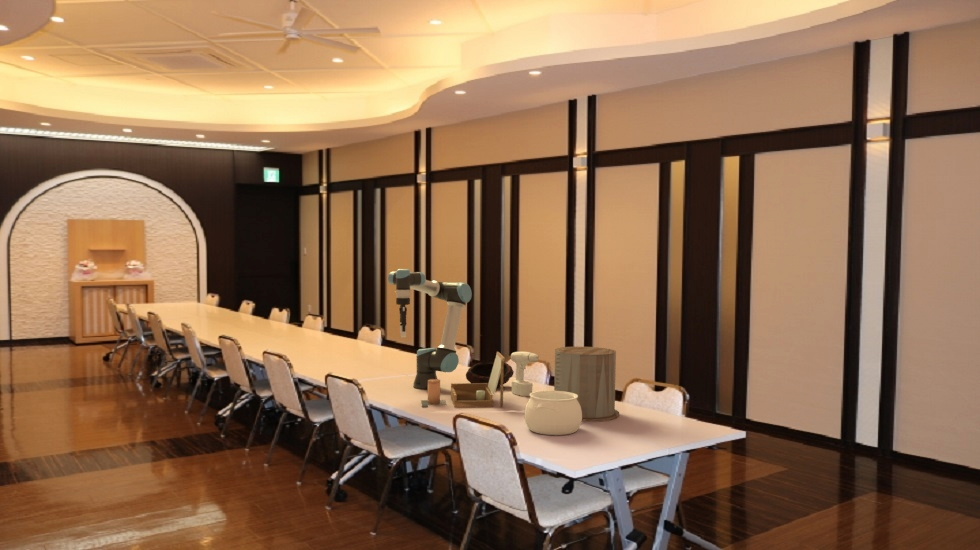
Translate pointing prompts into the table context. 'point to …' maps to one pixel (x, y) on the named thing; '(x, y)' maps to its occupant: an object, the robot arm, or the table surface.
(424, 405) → the slate tile
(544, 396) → the pot
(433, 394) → the terracotta pot
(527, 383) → the power drill
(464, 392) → the cold frame
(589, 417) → the storage basket
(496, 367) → the lid
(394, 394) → the table surface
